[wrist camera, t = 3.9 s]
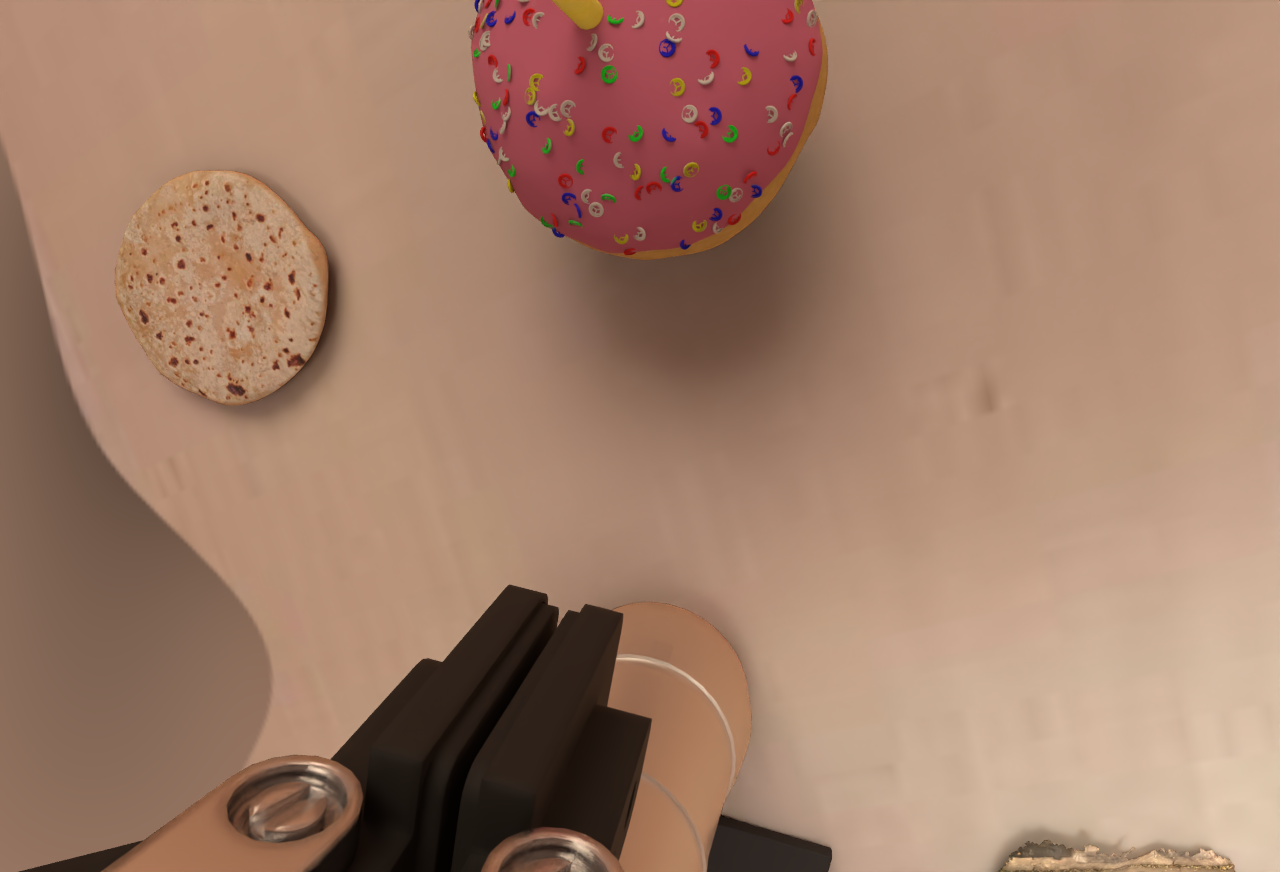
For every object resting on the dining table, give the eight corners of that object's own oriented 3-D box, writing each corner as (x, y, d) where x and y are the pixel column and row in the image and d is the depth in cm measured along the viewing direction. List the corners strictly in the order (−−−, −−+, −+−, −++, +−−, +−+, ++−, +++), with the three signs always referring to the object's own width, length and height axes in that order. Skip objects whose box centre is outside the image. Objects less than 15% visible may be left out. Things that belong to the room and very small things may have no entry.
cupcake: (479, 101, 25) (201, -13, 14) (684, -129, 23) (553, -507, 11) (665, 313, 25) (545, 374, 14) (888, 109, 23) (962, -19, 11)
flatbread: (204, 433, 30) (183, 439, 29) (94, 242, 29) (69, 242, 28) (380, 335, 27) (364, 338, 26) (266, 124, 27) (246, 120, 26)
